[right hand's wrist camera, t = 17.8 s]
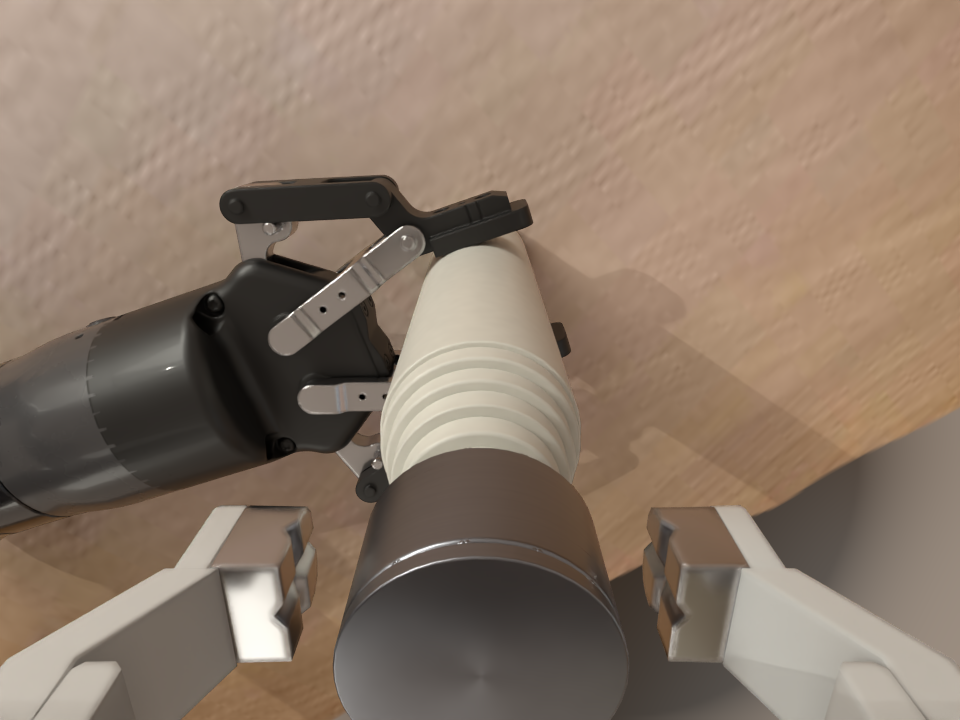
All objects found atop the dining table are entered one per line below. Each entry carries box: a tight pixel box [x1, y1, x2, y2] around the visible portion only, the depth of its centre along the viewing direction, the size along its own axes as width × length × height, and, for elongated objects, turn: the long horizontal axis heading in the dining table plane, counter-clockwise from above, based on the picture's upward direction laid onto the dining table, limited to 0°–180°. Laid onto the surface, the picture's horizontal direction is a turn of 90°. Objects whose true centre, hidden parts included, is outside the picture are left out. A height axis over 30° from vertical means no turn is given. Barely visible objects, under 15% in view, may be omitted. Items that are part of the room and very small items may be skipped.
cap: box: [333, 448, 629, 720], centre depth 9 cm, size 4×4×3 cm
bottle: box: [380, 231, 581, 485], centre depth 19 cm, size 4×4×23 cm
